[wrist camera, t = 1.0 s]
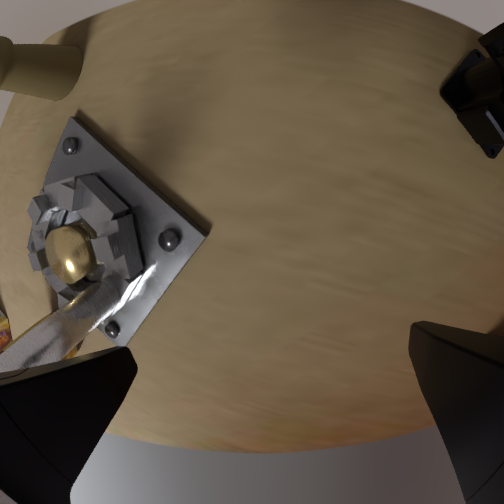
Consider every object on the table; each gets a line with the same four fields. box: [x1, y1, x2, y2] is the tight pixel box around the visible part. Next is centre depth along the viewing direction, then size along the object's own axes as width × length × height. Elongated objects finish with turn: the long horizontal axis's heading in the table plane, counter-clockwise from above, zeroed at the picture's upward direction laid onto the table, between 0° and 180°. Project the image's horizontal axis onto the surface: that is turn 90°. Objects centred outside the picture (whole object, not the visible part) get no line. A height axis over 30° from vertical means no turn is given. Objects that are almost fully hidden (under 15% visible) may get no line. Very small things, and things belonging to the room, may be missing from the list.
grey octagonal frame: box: [0, 173, 143, 373], centre depth 16 cm, size 12×13×14 cm
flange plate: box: [27, 117, 209, 346], centre depth 21 cm, size 17×17×4 cm
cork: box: [0, 36, 83, 101], centre depth 13 cm, size 6×6×11 cm
